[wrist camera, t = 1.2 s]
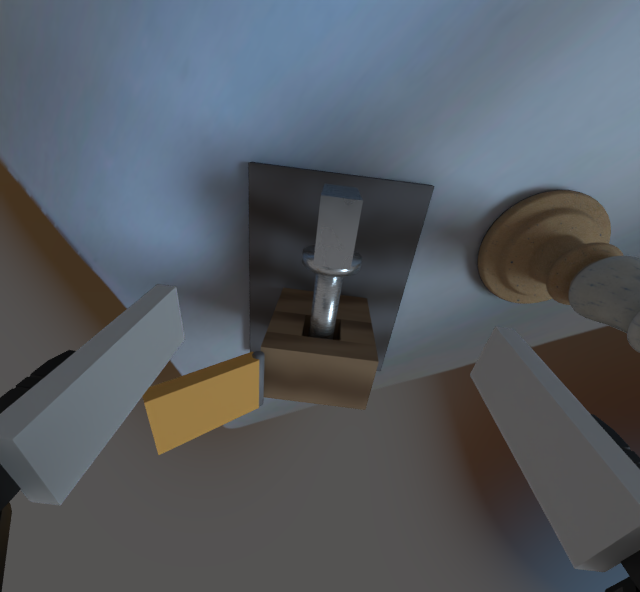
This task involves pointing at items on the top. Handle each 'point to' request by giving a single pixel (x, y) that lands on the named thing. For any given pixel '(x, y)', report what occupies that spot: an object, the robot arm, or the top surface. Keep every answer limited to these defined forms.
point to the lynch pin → (333, 254)
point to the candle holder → (563, 260)
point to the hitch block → (298, 282)
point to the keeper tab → (204, 399)
